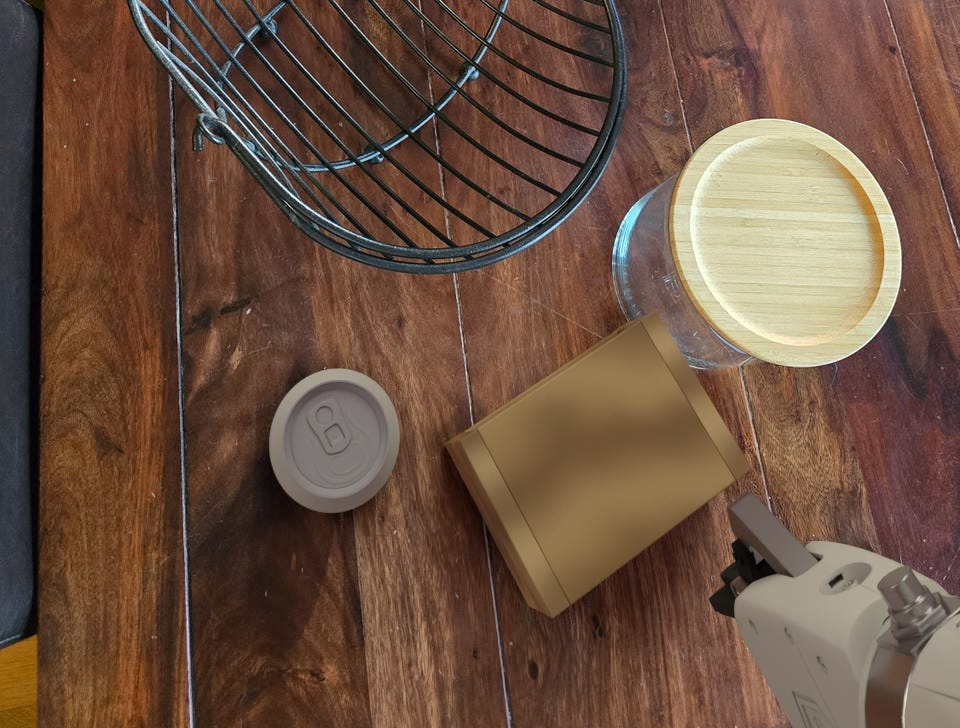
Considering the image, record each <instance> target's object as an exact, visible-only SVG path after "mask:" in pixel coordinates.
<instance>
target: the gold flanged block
mask: <svg viewBox="0 0 960 728" xmlns="http://www.w3.org/2000/svg"><path fill="white" fill-rule="evenodd" d="M444 446H445V448H446V451H447V452H448V455H449V456H450V458H451V460H452V461H453V463H454V466H455V468H456V469H457V471H458V473H459V475H460V477H461V479H462V481H463V483H464V485H465V487H466V489H467V490H468V492H469V495H470V496H471V498H472V500H473V502H474V504H475V506H476V507H477V510H478V512H479V513H480V516H481V517H482V519H483V521H484V523H485V525H486V527H487V529H488V532H489V533H490V534H491V537H492V539H493V541H494V542H495V545H496V546H497V548H498V550H499V552H500V555H501V556H502V558H503V560H504V561H505V564H506V566H507V568H508V570H509V571H510V574H511V575H512V577H513V579H514V581H515V583H516V585H517V587H518V589H519V591H520V592H521V594H522V597H523V599H524V600H525V602H526V604H527V606H529V607H530V608H532V609H534V610H536V611H537V612H539V613H541V614H543V615H545V616H547V617H548V618H550V619H555V618H556V617H558V616H559V615H560V614H561V613H563V612H565V610H567V609H568V608H569V607H570V605H571V606H572V605H573V604H575V603H576V602H577V601H579V600H581V598H583V597H584V596H585V595H587V594H588V593H589V592H590V591H592V590H593V589H594V588H596V587H597V586H599V585H600V584H601V583H603V582H604V581H605V580H607V579H608V578H609V577H610V576H612V575H613V574H614V573H616V572H617V571H618V570H620V569H621V568H622V567H624V566H626V565H627V564H628V563H629V562H630V561H631V560H633V559H634V558H635V557H637V556H638V555H640V554H641V553H642V552H643V551H644V550H646V549H648V548H649V547H650V546H651V545H653V544H654V543H655V542H657V541H659V539H661V538H662V537H664V536H665V535H666V534H667V533H669V532H670V531H671V530H673V529H675V527H676V526H678V525H679V524H680V523H682V522H683V521H685V520H686V519H687V518H689V517H690V516H691V515H693V514H694V513H695V512H697V511H698V510H699V509H700V508H702V507H703V506H704V505H706V504H707V503H709V502H710V501H711V500H712V499H714V498H715V497H716V496H718V495H719V494H720V493H722V492H723V491H724V490H726V489H727V488H728V487H730V486H731V485H732V484H733V483H735V482H736V481H738V480H739V479H741V478H742V477H743V476H745V475H746V474H747V473H748V472H750V471H751V470H752V469H753V467H752V466H751V464H750V463H749V461H748V460H747V458H746V456H745V454H744V453H743V451H742V449H741V448H740V446H739V444H738V443H737V441H736V439H735V438H734V436H733V435H732V433H731V431H730V429H729V428H728V426H727V425H726V424H725V421H724V420H723V419H722V416H721V415H720V413H719V412H718V410H717V408H716V407H715V405H714V403H713V402H712V400H711V398H710V397H709V395H708V393H707V392H706V390H705V388H704V387H703V385H702V384H701V382H700V380H699V378H698V377H697V376H696V374H695V372H694V371H693V369H692V368H691V366H690V364H689V362H688V360H687V359H686V358H685V355H684V354H683V353H682V350H680V347H679V345H678V344H677V343H676V341H675V339H674V338H673V336H672V334H671V333H670V331H669V329H668V328H667V326H666V325H665V323H664V321H663V320H662V318H661V317H660V315H659V313H658V311H657V310H656V309H654V310H652V311H650V312H647V313H645V314H643V315H641V316H638V317H636V318H634V319H632V320H630V321H627V322H625V323H624V324H622V325H621V326H619V327H618V328H617V329H614V330H613V331H611V333H609V334H608V335H607V336H605V337H604V338H603V339H601V340H599V341H598V342H596V343H594V344H593V345H592V346H590V347H589V348H587V349H586V350H584V351H583V352H581V353H579V354H578V355H576V356H575V357H574V358H572V359H571V360H568V361H567V362H566V363H565V364H563V365H561V366H560V367H559V368H557V369H555V370H554V371H553V372H551V373H550V374H548V375H546V376H545V377H543V378H542V379H540V380H539V381H537V382H536V383H534V384H533V385H532V386H530V387H528V388H527V389H526V390H524V391H523V392H521V393H519V394H518V395H517V396H515V397H513V398H512V399H510V400H509V401H508V402H505V403H504V404H503V405H501V406H500V407H499V408H496V409H495V410H494V411H493V412H491V413H489V414H488V415H487V416H485V417H484V418H481V419H480V420H479V421H477V422H476V423H474V424H473V425H471V426H470V427H468V428H466V429H465V430H464V431H463V432H460V433H458V434H457V435H455V436H454V437H452V438H450V439H449V440H448V441H446V442H445V443H444Z"/></svg>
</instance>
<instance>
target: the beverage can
mask: <svg viewBox="0 0 960 728" xmlns="http://www.w3.org/2000/svg"><path fill="white" fill-rule="evenodd" d="M399 422H400V421H399V417H398V414H397V411H396V409H395V406H394V404H393V402H392V400H391V399H390V397H389V395H388V393H387V392H386V391H385V390H384V388H382V386H380V385H379V383H377V382H376V381H375V379H373V378H371V377H369V376H368V375H366V374H364V373H362V372H359V371H356V370H353V369H349V368H328V369H327V368H326V369H324V370H319V371H316V372H314V373H312V374H310V375H308V376H306V377H305V378H302V379H301V380H300V381H299V382H298V383H296V384H295V385H293V387H292V388H291V389H290V390H289V391H288V392H287V393H286V395H285V396H284V397H283V399H282V400H281V402H280V404H279V405H278V407H277V409H276V411H275V413H274V416H273V418H272V422H271V426H270V431H269V439H268V449H269V459H270V463H271V467H272V471H273V474H274V475H275V477H276V480H277V481H278V483H279V485H280V486H281V488H282V490H284V492H285V493H286V494H287V495H288V496H289V497H290V498H291V499H292V500H294V501H295V502H296V503H298V504H299V505H300V506H302V507H305V508H307V509H308V510H311V511H314V512H319V513H325V514H336V513H343V512H348V511H350V510H354V509H356V508H358V507H360V506H362V505H364V504H365V503H367V502H368V501H370V500H371V499H372V498H373V497H375V496H376V495H377V494H378V493H379V491H381V489H382V488H383V487H384V485H385V484H386V483H387V482H388V480H389V478H390V476H391V474H392V472H393V470H394V468H395V464H396V463H397V460H398V456H399V451H400V443H401V442H400V441H401V432H400V431H401V430H400V423H399Z"/></svg>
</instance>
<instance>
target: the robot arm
mask: <svg viewBox="0 0 960 728" xmlns="http://www.w3.org/2000/svg"><path fill="white" fill-rule="evenodd" d="M726 514H727V518H728V521H729V525H730V529H731V532H732V534H733V535H734V536H735V537H736V539H735V540H734V541H732V542H731V544H730V546H731V551H732V553H731V555H732V558H733V559H734V561H733V562H732V563H730V564H729V565H728V566H727V567H725V568H724V569H723V570H722V571H721V573H720V574H719V577H720V578H721V580H722V583H723V584H724V585H723V586H721V587H720V588H719V589H717V590H716V591H715V592H714V593H713V594H711V596H710V597H709V598H708V601H709V603H710V605H711V607H712V609H713V610H714V611H715V612H717V613H719V614H720V615H723V616H725V617H729V618H732V619H735V622H736V626H737V628H738V631H739V633H740V636H741V637H742V640H743V642H744V643H745V645H746V647H747V649H748V651H749V653H750V655H751V657H752V658H753V660H754V663H755V664H756V666H757V667H758V669H759V671H760V673H761V674H762V676H763V678H764V680H765V682H766V684H767V685H768V687H769V688H770V690H771V692H772V694H773V696H774V697H775V700H776V701H777V703H778V704H779V706H780V708H781V710H782V712H783V713H784V715H785V716H786V718H787V720H788V722H789V724H790V725H791V727H792V728H960V596H958V595H951V594H949V593H948V591H946V589H945V588H943V587H942V585H940V584H939V583H938V582H936V581H935V580H933V579H931V578H930V577H928V576H926V575H924V574H922V573H920V572H918V571H917V570H915V569H913V568H911V566H909V565H904V564H903V563H901V562H898V561H896V560H894V559H891V558H889V557H886V556H884V555H881V554H879V553H876V552H873V551H870V550H868V549H865V548H861V547H857V546H853V545H850V544H845V543H842V542H841V543H840V542H837V541H828V540H811V541H810V540H809V541H805V542H804V543H803V544H802V542H801V541H799V539H797V537H796V536H794V534H793V533H792V532H791V531H790V530H789V529H788V528H787V527H786V526H785V525H784V524H783V523H782V521H780V519H778V517H777V516H776V515H775V514H774V513H773V512H772V511H771V510H770V509H769V508H768V507H767V506H766V505H765V504H764V503H763V502H762V501H761V500H760V499H759V497H757V496H756V495H755V494H754V492H752V491H751V490H749V489H748V490H747V491H745V492H744V493H742V494H741V495H740V496H739V497H737V498H736V499H735V500H733V501H732V502H730V503H729V504H728V505H726Z"/></svg>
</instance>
